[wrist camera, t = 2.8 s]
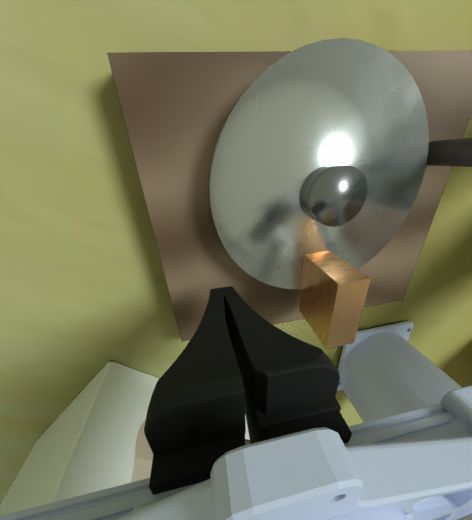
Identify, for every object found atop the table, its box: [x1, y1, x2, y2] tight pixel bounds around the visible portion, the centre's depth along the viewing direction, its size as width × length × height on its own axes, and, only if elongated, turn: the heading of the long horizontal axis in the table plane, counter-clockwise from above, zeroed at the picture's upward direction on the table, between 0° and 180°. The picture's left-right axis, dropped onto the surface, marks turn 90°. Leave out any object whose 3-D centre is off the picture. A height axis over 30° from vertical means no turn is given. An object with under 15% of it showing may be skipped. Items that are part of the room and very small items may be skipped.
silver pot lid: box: [209, 38, 429, 349], centre depth 11 cm, size 15×13×5 cm
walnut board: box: [107, 50, 472, 341], centre depth 12 cm, size 17×20×6 cm
